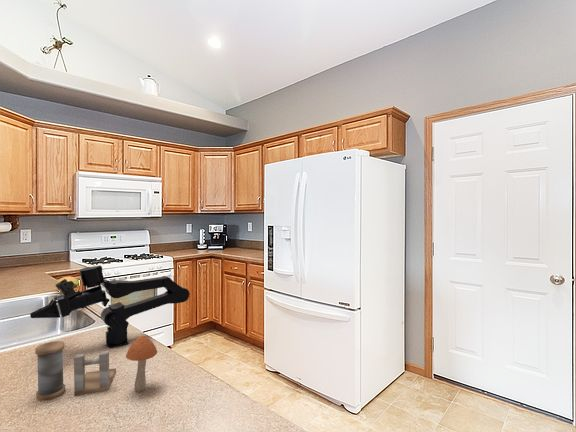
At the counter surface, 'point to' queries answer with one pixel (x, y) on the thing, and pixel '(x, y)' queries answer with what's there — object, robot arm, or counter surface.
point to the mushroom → (141, 358)
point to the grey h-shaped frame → (92, 374)
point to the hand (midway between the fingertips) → (30, 315)
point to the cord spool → (50, 370)
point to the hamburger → (69, 280)
